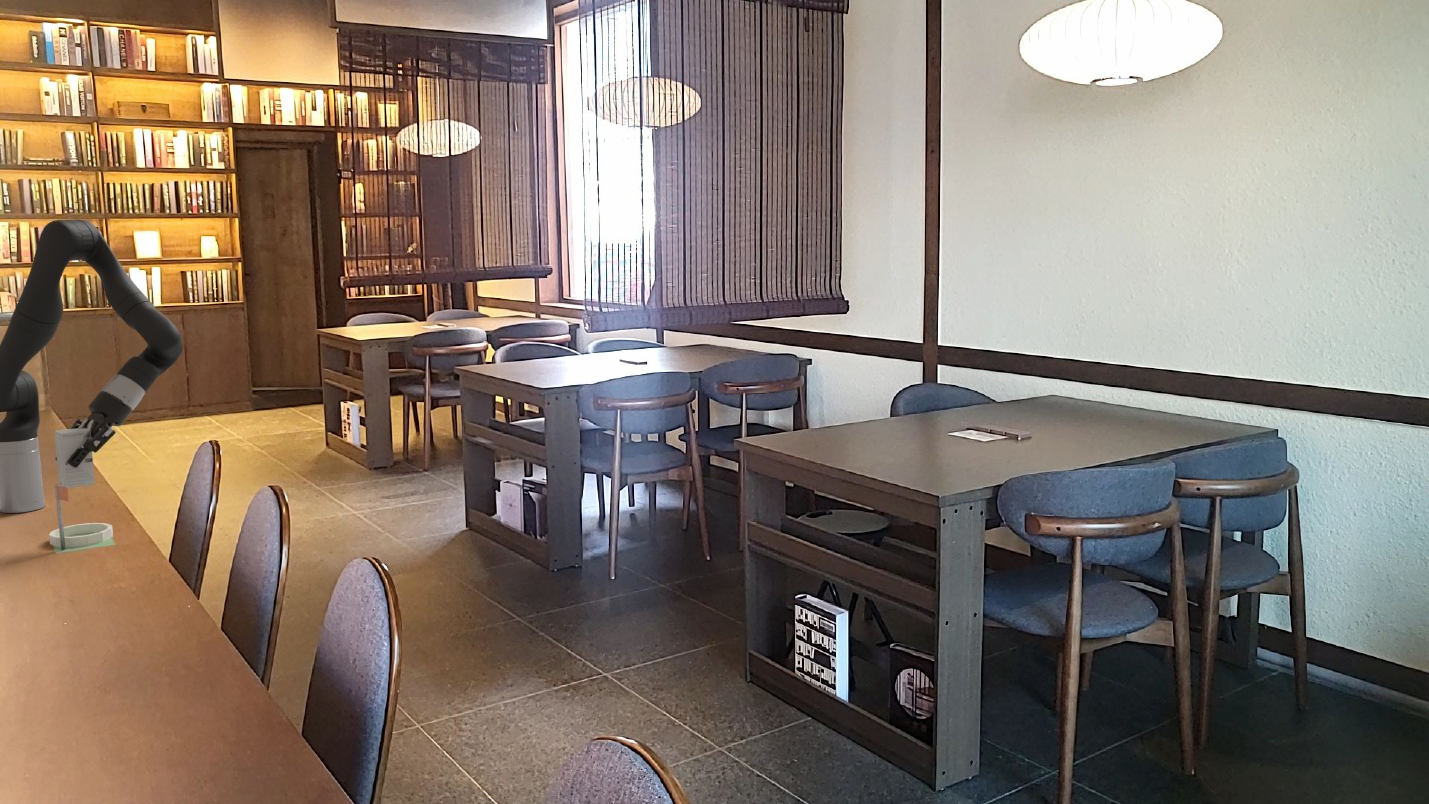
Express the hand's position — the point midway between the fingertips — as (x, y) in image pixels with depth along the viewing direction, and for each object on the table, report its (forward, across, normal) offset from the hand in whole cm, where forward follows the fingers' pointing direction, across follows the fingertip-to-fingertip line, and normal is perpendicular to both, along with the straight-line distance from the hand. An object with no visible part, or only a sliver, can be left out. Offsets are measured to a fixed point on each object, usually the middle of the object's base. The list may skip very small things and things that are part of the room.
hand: (65, 463), depth 234 cm
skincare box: (+2, 0, +5) cm, 6 cm away
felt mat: (+11, 0, +14) cm, 18 cm away
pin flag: (+15, +7, +9) cm, 19 cm away
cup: (+11, 0, +13) cm, 17 cm away
